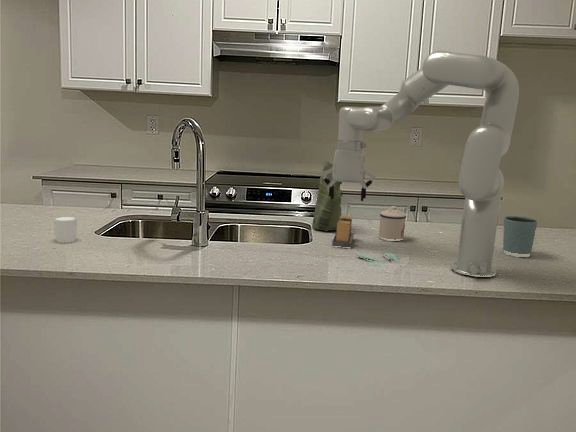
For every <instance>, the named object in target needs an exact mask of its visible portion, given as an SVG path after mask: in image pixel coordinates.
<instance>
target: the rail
mask: <svg viewBox="0 0 576 432" xmlns="http://www.w3.org/2000/svg"><path fill="white" fill-rule="evenodd" d="M339 220H340V221H350V234H349V242H342V241H336V234H337V231H336V233H335V235H334V237H333V239H332V241H331V242H332V244H331V247H332V246H341V247H351V248H352V246H353V243H352V241H354V239H353V238H354V236H355V233H354V232H352V222H353V216H348V215H341V216H340V218H339ZM351 245H352V246H351Z"/></svg>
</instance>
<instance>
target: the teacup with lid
mask: <svg viewBox="0 0 576 432" xmlns="http://www.w3.org/2000/svg"><path fill="white" fill-rule="evenodd" d="M397 208H398V207H397V206H395V205H392V206H390V208H388V209H386V210H383V211H381V212H380V213H379V216H380V217H379V226H378V227H379V229H378V237H379V236H380V237H382V238H386V239H394V240H396V239H403V238H405V226H406V218H407V215H406V213H405V212H402V211H400V210H399V209H397ZM403 240H404V239H403Z"/></svg>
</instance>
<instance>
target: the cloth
mask: <svg viewBox="0 0 576 432" xmlns="http://www.w3.org/2000/svg"><path fill="white" fill-rule="evenodd" d="M383 255H385V256H387V257H388V258H390V259H391V260H392V261H394V262H396V263H398V264H399V263H400V261H399V260H400V259H401V258H399V257H398V258H396V256H398V255H397V254H395V253H394V254H391V253H387V252H384V253H383V254H382V256H383ZM356 256H358V257H362V258H365V259H368V260H372V261H377V263H382V264H386V263H387V262H385V261H382V260H379V259H377V258H375V257H372V256H371V255H367V254H365V253H357V254H355V257H356ZM376 259H377V260H376ZM365 264H366V265H369V266H372V267H373V266H374V267H381V266H380V265H377V264H375V263H372V262H368V263H365Z"/></svg>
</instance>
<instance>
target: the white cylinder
mask: <svg viewBox="0 0 576 432" xmlns="http://www.w3.org/2000/svg"><path fill="white" fill-rule="evenodd" d="M77 224H78V217H75V216H58V217H54V218H53V226H54V233H55V234H54V235H55V241H56V242H57V243H60V244H69V243H73V242H76V240H77V239H76V238H77V227H78V225H77Z"/></svg>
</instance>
